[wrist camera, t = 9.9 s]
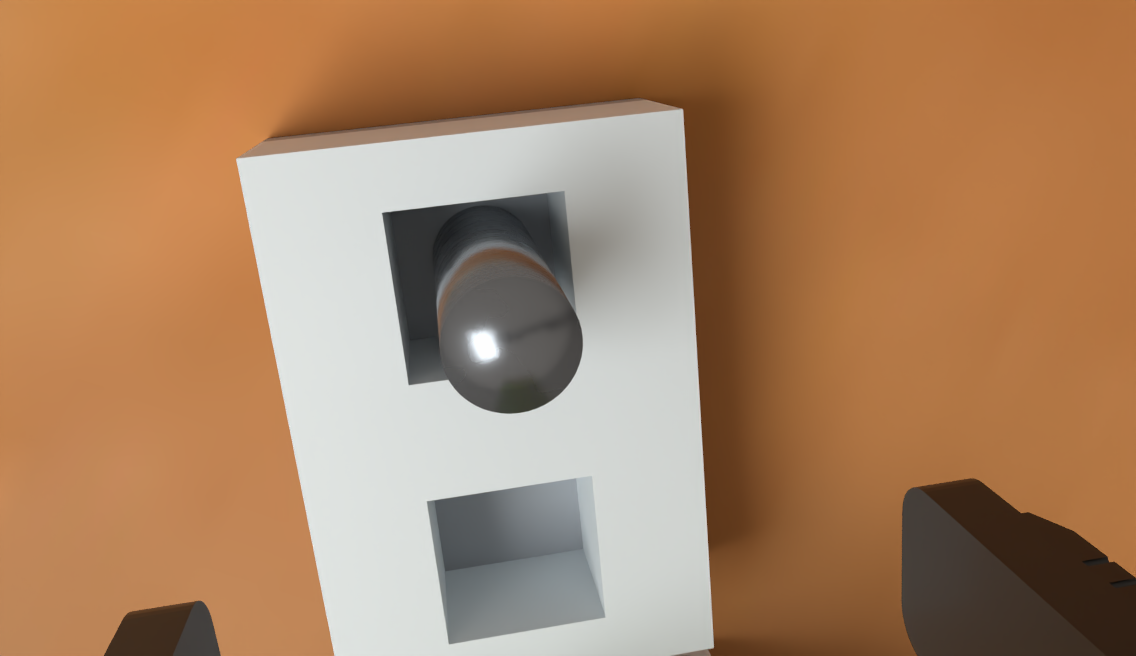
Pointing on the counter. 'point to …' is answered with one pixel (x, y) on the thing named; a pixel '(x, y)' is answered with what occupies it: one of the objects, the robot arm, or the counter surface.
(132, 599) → the counter surface
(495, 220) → the pin
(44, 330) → the counter surface
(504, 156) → the bore block
